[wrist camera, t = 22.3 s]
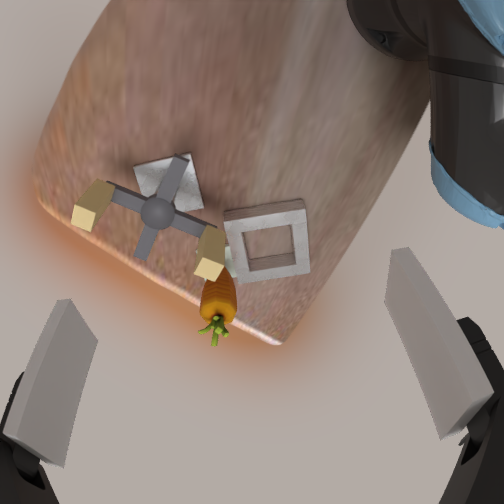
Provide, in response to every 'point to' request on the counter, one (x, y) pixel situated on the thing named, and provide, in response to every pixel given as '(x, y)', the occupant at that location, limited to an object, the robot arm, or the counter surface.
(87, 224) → the handwheel
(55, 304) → the robot arm
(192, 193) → the square base pedestal
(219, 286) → the carrot
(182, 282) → the counter surface
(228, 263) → the pad
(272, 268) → the gray square frame
